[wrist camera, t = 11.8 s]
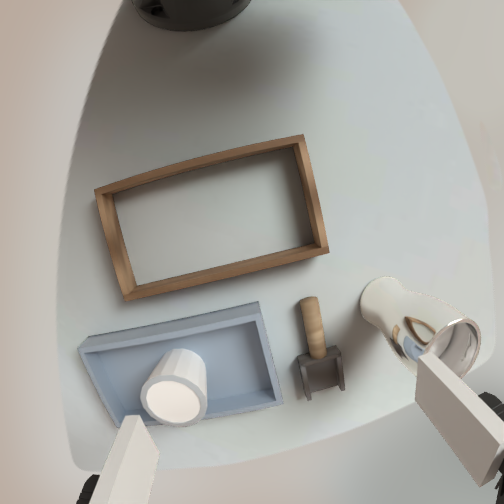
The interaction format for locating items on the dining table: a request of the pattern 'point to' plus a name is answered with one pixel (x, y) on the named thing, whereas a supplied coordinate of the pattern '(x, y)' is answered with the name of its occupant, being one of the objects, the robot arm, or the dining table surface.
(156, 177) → the walnut frame
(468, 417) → the robot arm
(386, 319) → the silver metal tumbler
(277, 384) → the bin
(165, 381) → the white faceted cup
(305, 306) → the hand scoop
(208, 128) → the dining table surface
